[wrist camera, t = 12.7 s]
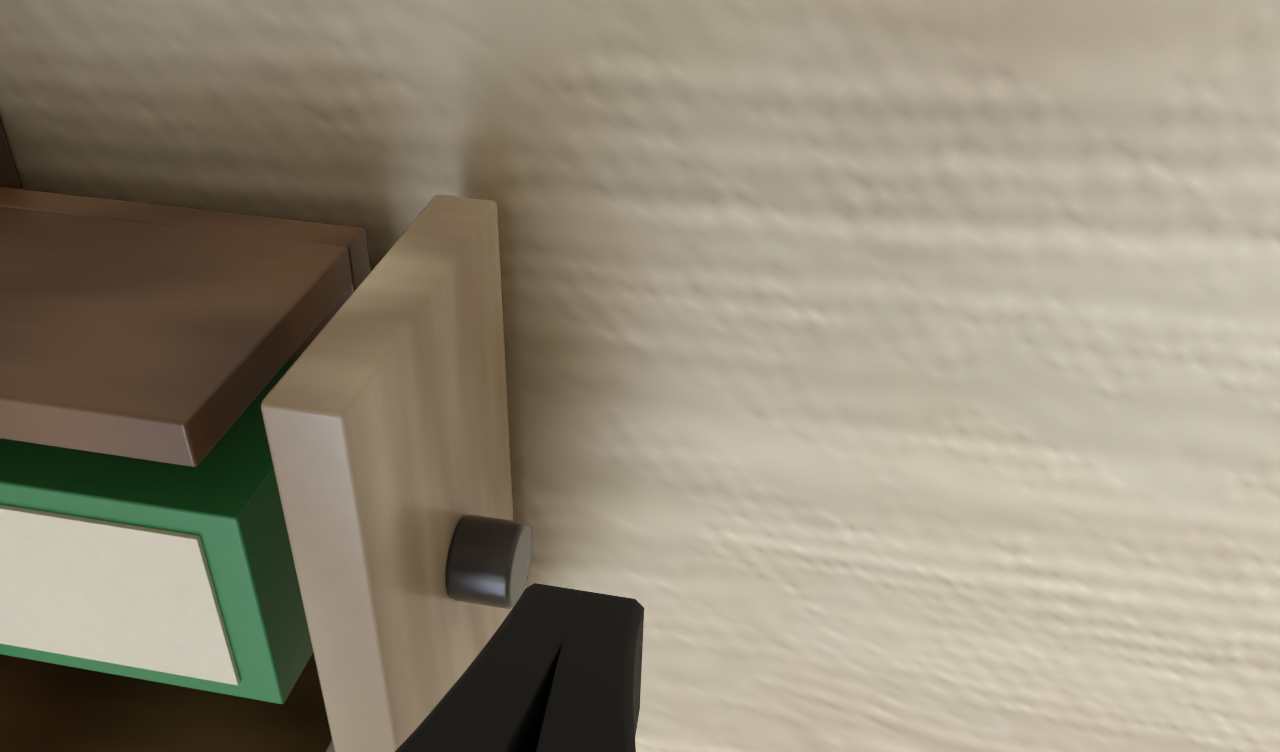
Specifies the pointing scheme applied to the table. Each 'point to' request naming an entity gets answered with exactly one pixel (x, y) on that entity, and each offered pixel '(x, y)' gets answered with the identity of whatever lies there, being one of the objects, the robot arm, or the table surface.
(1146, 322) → the table surface
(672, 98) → the table surface
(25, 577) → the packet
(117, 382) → the drawer
